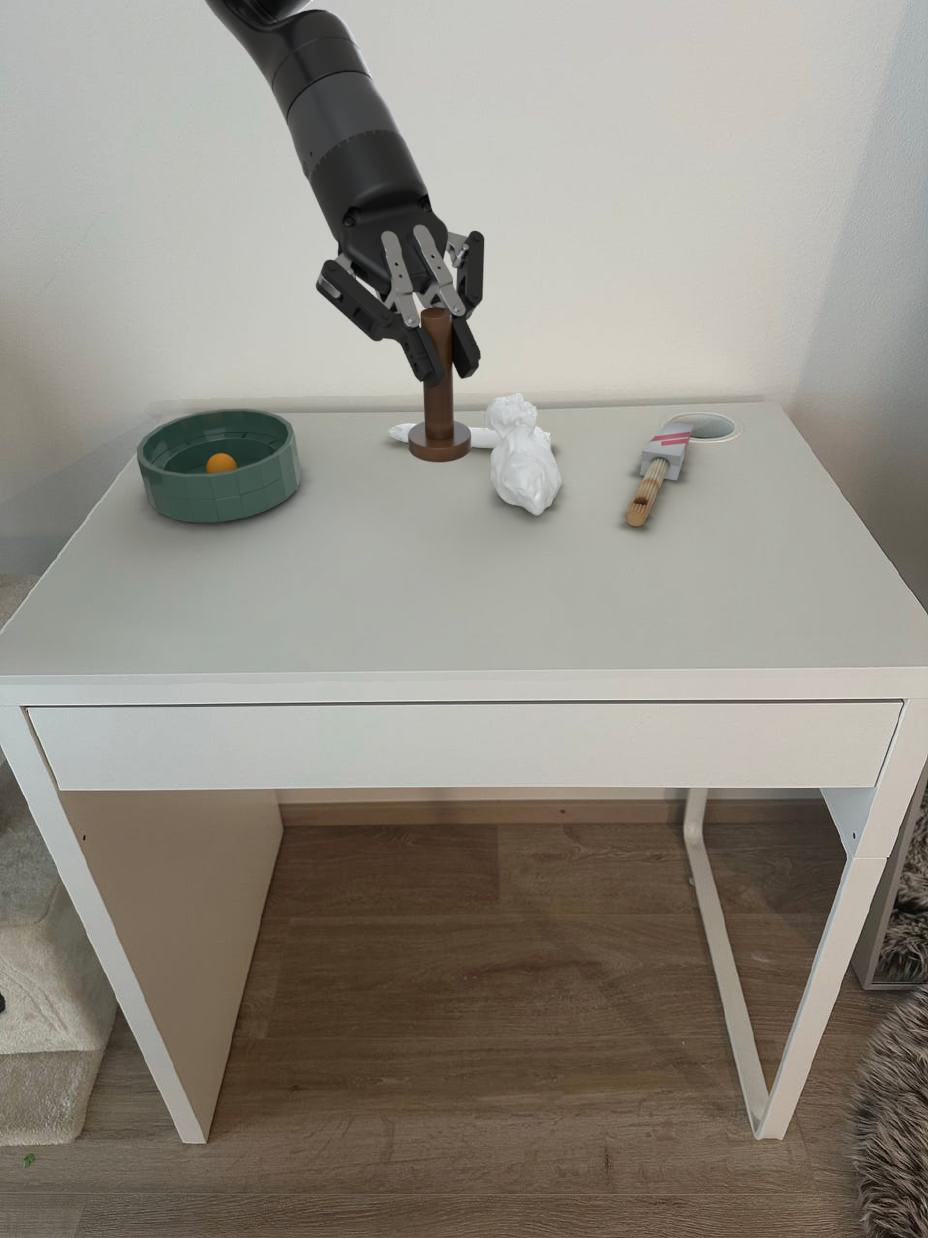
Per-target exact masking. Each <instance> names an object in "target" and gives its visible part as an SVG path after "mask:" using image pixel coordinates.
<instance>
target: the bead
mask: <svg viewBox="0 0 928 1238" xmlns="http://www.w3.org/2000/svg"><path fill="white" fill-rule="evenodd" d="M206 468H207V473H208V474H211V473H217V472H223V471H229V470H235V469H237V465H236V462H235V461H234V459H233V458H232V457H231V456H229V455H227V454H223V453H220V454H216V455H214V456H212V457H211V458H210V459H209V460H208V462H207V467H206Z"/></svg>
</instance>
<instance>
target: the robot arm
mask: <svg viewBox="0 0 928 1238" xmlns="http://www.w3.org/2000/svg"><path fill="white" fill-rule="evenodd" d="M203 1H204V2H205V4H206V6H207V7H208V8H209V10H210V12H212V14H213V15H214V17H215V18H216V19H217V20H218V21H219V22H220V23H221V24H222V25H223V26H224V28H225V29H226V30H227V31H228V32H229V33H230V35H231V36H233V38H234V39H235V40H236V41H237V42H238V43H239V45H240V46H241V47H242V48H243V49H244V51H245V52H246V54H247V55H248V56H249V57H250V58H251V60H252V61H253V63H254V64H255V66H256V67H257V69H258V70H259V71H260V72H261V74H262V77H264V79H265V80H266V83H267V85H268V86H269V88H270V90H271V92H272V95H273V97H274V99H275V101H276V103H277V106H278V108H279V110H280V112H281V115H282V117H283V119H284V121H285V123H286V126H287V127H288V130H289V131H288V132H289V134H290V136H291V139H292V142H293V147H294V150H295V153H296V156H297V158H298V161H299V164H300V166H301V170H302V173H303V176H304V177H305V178H306V180H307V181H308V183H309V186H310V188H311V190H312V193H313V195H314V197H315V199H316V202H317V203H318V206H319V208H320V210H321V213H322V215H323V217H324V220H325V222H326V224H327V226H328V229H329V230H330V233H331V235H332V237H333V239H334V240H335V241H336V242H337V256H336V258H335V259H327V260H325V261H324V263H323V264H322V267H321V269H320V272H319V274H318V277H317V280H316V283H315V289H316V290H317V292H318V293H319V294H320V295H321V296H322V297H323V298H325V299H326V300H327V301H328V302H329V303H330V304H331V305H332V306H334V307H335V308H336V309H337V310H338V311H339V312H340V313H341V314H343V316H345V317H346V318H347V319H348V320H349V321H350V322H351V323H352V324H353V325H355V326H356V328H358V329H359V330H360V331H361V332H363V334H365V335H366V336H367V337H368V338H369V339H370V340H371V341H373V342H382V340H384V339H386V340H393V341H396V342H397V343H398V344H399V345H400V347H401V348H402V351H403V353H404V355H405V358H406V360H407V362H408V364H409V366H410V368H411V371H412V373H413V376H414V377H415V378H416V380H417V381H418V382H420V383H423V381H424V383H425V385H426V387H427V388H432V387H435V386H438V385H439V384H440V382H441V381H442V380H443V378H444V377H445V370H444V367H443V365H442V363H441V360H440V358H439V356H438V354H437V351H436V349H435V347H434V345H433V343H432V340H431V338H430V336H429V334H428V332H427V329H426V327H421V320H420V314H419V312H418V309H417V306H416V303H415V300H414V297H413V296H414V293H415V295H416V297H417V299H418V300H419V302H420V304H421V305H422V308H424V309H427V308H431V307H442V308H447V309H449V310H450V311H451V312H452V352H453V367H454V369H455V371H456V373H457V375H458V377H459V378H460V379H461V380H463V379H464V380H465V379H467V378H471V377H472V376H473V375H474V374H475V373H476V371H477V370H478V369H479V366H480V360H481V359H482V355H481V350H480V347H479V345H478V344H477V341H476V339H475V336H474V334H473V332H472V329H471V328H470V325H469V323H468V321H467V320H469V319H470V318H471V316H472V315H473V313H474V311H475V309H476V308H477V307H478V306H479V305H480V304H481V302H482V301H483V298H484V267H485V236H484V235H483V233H481V231H479V230H472V231H470V232H469V234H468V235H467V236H466V235H462V234H458V233H455V232H452V231H449V229H448V227H447V225H446V223H445V222H444V221H443V220H442V219H441V218H440V217H438V215H437V214H436V213H435V211H434V210H433V207H432V204H431V203H432V202H431V199H430V195H429V194H430V193H429V190H428V188H427V186H426V183H425V181H424V179H423V177H422V175H421V173H420V171H419V168H418V166H417V164H416V162H415V159H414V157H413V155H412V153H411V150H410V149H409V147H408V144H407V142H406V140H405V138H404V135H403V133H402V131H401V129H400V127H399V124H398V122H397V120H396V118H395V115H394V114H393V111H392V110H391V108H390V106H389V105H388V103H387V101H386V100H385V98H384V97H383V95H382V94H381V92H380V90H379V89H378V86H377V85H376V83H375V80H374V77H373V76H372V74H371V71H370V70H369V66H368V65H367V63H366V61H365V59H364V56H363V54H362V52H361V50H360V48H359V46H358V43H357V42H356V41H357V40H356V39H355V37H354V35H353V32H352V31H351V29H350V27H349V26H348V25H347V23H346V22H345V20H343V19H342V18H341V17H340V15H338V14H336V13H334V12H333V11H330V10H327V9H322V8H320V9H319V8H312V9H307V10H304V9H305V8H307V6H309V5H310V4H311V3H312V2H313V0H203ZM446 252H447V253H448V255H449V257H450V262H451V267H452V268H453V269H456V284H455V286H456V287H455V286H454V277H453V275H452V273H451V272H450V269H449V268H448V266H447V265H446V262H445V261H444V260H445V256H446V255H445V254H446ZM357 278H358V279H359V280H361V281H362V282H364V283H365V284H367V285H368V286H369V287H371V288H372V289H373V290H374V292H375V295H376V296H375V295H374V294H373V293H372V292H371V291H369V290H368V289H367V288H366V287H365V286H364V285H363V284H362V283H361V282H359V280H357Z"/></svg>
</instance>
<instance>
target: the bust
mask: <svg viewBox="0 0 928 1238" xmlns="http://www.w3.org/2000/svg"><path fill="white" fill-rule="evenodd" d="M538 414H539V413H538V410H537V406H536V405H533V404H532V403H531V402H530V401H528V400H526V401H525V399H524V397H523V394H522V393H520V392H519V393H516V394H515V393H513V394H512V395H511V394H510V395H508V396H498V397H495V398H493V399H492V400H491V401H490V402H489V404H488V406H487V408H486V409H485V413H484V416H483V423H484V426H485V427H487V428H488V429H489V430H491V431H496V432H497V433H498V435H499V436H500V438H501V440H500V442H499V443H498V445H497V446H496V447H495V448H494V449H493V450H492V451H491V454H490V461H491V462H490V463H491V464H490V465H491V466H490V467H491V470H490V479H491V483H492V485H493V486H494V488H495V490H496V493H497V494H498V496H499V497H500V498H501V500H503V501H504V502H505V503H507V504H509V505H512V506H519V507H522V508H523V509H525V510H526V511H527V512H528V513H531V514H532V515H533V516H541V515H542V514H543V512H544V511H545V509H547V508H550V507H551V506H552V504H553V501H554V499H555V498H556V496H557V495H558V492H559V490H560V489H561V486H562V481H563V479H562V475H561V473H560V470H559V467H558V464H557V461H556V459H555V456H554V454H553V452H552V445H551V446H550V444H549V441H548V438H547V436H546V435H545V434H544V432H545V431H544V430H543V429H542V428H540V427H539V426H537V419H538Z"/></svg>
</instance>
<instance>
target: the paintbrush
mask: <svg viewBox="0 0 928 1238" xmlns="http://www.w3.org/2000/svg"><path fill="white" fill-rule="evenodd" d="M693 428H694V424H689V423H682V422H675V421H667V422H665V424H664V425H663V426H662V427H661V429H660V430H659V431H658V432H657V433H656V434H655V435H654V437H653V438H652V439H651V440H650V441H649V442H648V444H647V445H646V446H645V447H644V449H642V451H641V457H642V462H641V466H640V471H639V476H643V479H642V481H641V483H640V485H639V487H638V489H637V490H636V493H635V495H634V497H633V499H632V501H631V503H630V505H629V507H628V509H627V511H626V513H625V521H626V522H627V524H628V525H630V526H632V527H640V526H644V524H645V523H646V520H647V519H648V516H649V514H650V511H651V509H652V508H653V504H654V502H655V500H656V497H657V495H658V492H659V491H660V488H661V487H662V483H664V479H665V480H672V481H678V479H679V475H680V472H681V469H682V465H683V462H684V458H685V455H686V452H687V448H688V445H689V441H690V438H691V435H692V432H693Z"/></svg>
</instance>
